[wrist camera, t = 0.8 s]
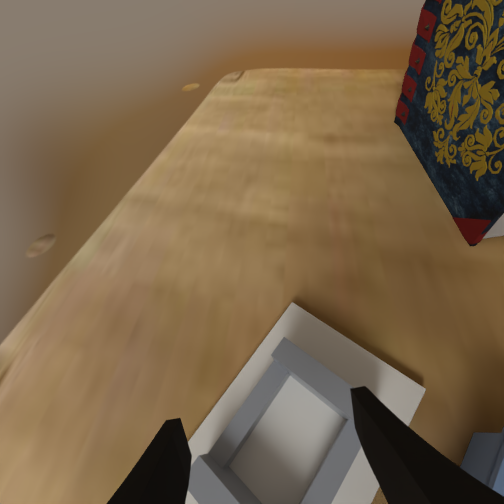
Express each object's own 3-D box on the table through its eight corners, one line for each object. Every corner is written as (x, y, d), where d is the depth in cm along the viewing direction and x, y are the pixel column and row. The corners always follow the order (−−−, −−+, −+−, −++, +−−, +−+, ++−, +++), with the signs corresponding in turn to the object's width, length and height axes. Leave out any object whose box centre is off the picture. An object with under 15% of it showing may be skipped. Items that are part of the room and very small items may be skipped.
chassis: (421, 390, 23) (445, 382, 19) (281, 680, 17) (270, 763, 13) (292, 305, 29) (289, 285, 25) (152, 495, 23) (116, 510, 19)
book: (386, 113, 43) (453, -179, 22) (434, 103, 42) (549, -211, 21) (464, 248, 29) (828, -191, 8) (538, 238, 28) (1144, -281, 8)
